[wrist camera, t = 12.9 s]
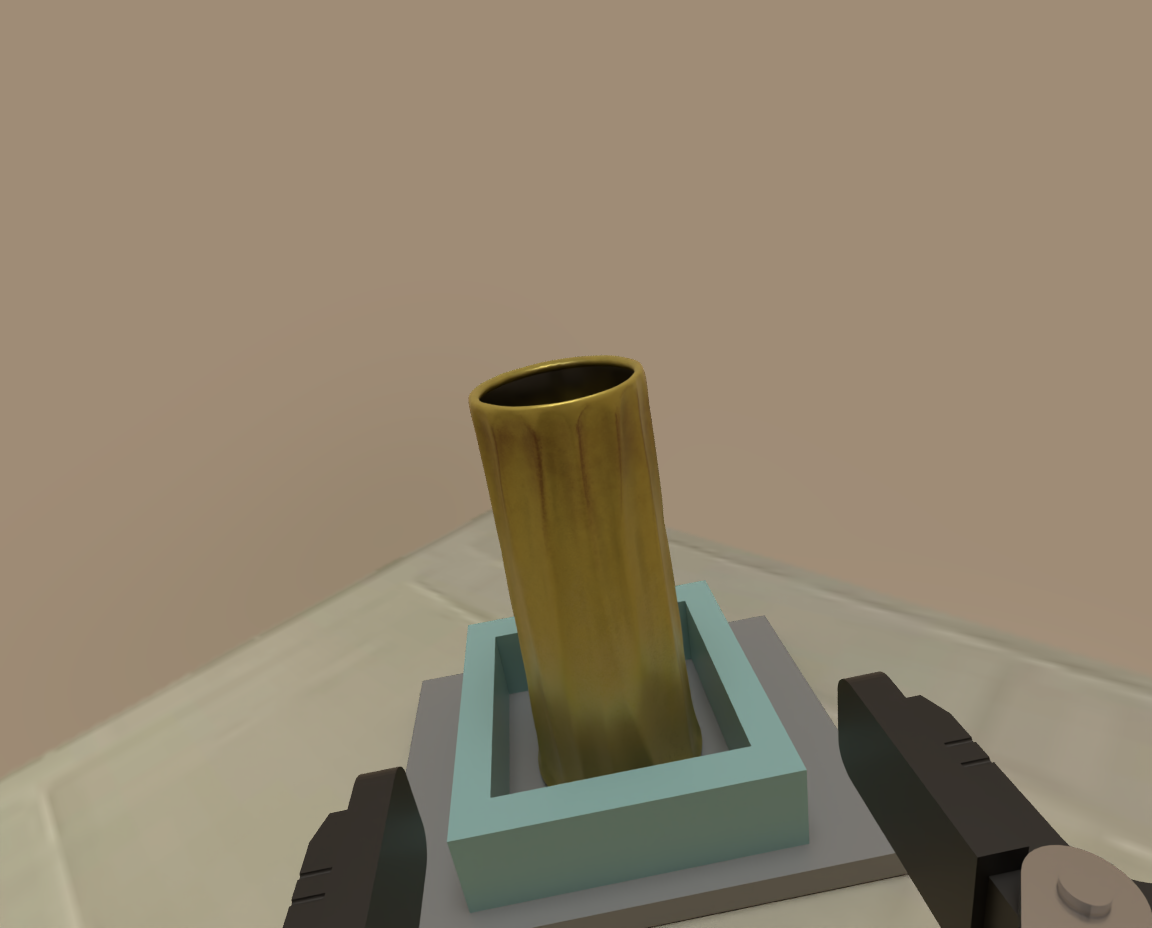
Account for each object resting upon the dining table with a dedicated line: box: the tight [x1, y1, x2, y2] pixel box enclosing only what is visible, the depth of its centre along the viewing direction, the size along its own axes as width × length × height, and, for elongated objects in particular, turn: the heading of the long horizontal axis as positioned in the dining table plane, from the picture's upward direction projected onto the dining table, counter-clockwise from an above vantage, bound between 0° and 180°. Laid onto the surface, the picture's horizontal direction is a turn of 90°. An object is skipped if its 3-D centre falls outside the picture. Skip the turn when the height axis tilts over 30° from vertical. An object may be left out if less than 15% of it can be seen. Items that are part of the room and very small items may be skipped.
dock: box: [406, 581, 908, 928], centre depth 24 cm, size 16×12×4 cm
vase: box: [469, 355, 702, 787], centre depth 22 cm, size 6×6×14 cm
